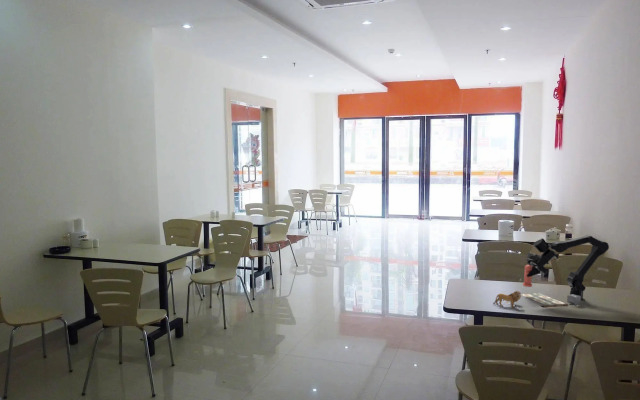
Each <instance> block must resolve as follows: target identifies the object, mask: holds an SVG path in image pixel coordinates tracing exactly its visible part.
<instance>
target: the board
mask: <svg viewBox="0 0 640 400" xmlns="http://www.w3.org/2000/svg"><path fill="white" fill-rule="evenodd" d="M521 296H522V297H523V296H524V297H525V298H528V299H531V300H533V301H535V302H537V303H539V304H542V305H540V307H541V308H547V309H548V308H559V307H562V306H563V307H569V303H565V302H562V301H560V300H557V299H554V298H552V297H549V296H548V295H546V294H545V295H544V294H542V293H540V292H539V293H538V292H537V293H535V292H534V293H533V294H530V293H523V294H522V293H521ZM541 298H542V299H541ZM553 303H554V304H553Z"/></svg>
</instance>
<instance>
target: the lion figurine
mask: <svg viewBox="0 0 640 400" xmlns="http://www.w3.org/2000/svg"><path fill="white" fill-rule="evenodd" d="M521 294H522V292H520V291H518V290H515V291H514V292H511V293H510V294H505V293H498V294H497V295H496V297H495V301H494V302H492V304H493V305H499V306H501V307H503V306H504V305H503V304H502V302H503V301H505V302H507V303H509V302H510V306H511V308H515V306H514V305H515V303H517V302H518V301H519V300H520V299H522V298H521V297H522V295H521ZM498 302H499V303H498Z"/></svg>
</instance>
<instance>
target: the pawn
mask: <svg viewBox="0 0 640 400" xmlns="http://www.w3.org/2000/svg"><path fill="white" fill-rule="evenodd" d="M531 270H532V266H531V265H528V264H526V265H525V266H524V273H523V275H524V277H523V283H522V286H523V287H527V288H531V287H533V284H532V278H533V277H532V276H530V277H527V274H528V273H529V272H530V271H531Z"/></svg>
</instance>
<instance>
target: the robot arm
mask: <svg viewBox="0 0 640 400" xmlns="http://www.w3.org/2000/svg"><path fill="white" fill-rule="evenodd" d="M585 244H590V245H591V251H590V253H589V254H588V255H587V256H586V258H585V259H584V260H583V262H582V263H581V264H580V266H579V267H578V269H577V270H576V271H574V272H573V271H570V273H569V274H568V275H567V278H566V282H567V284H568V285H569V287H570V291H569V295H571V294H574V295H578V296H581V301H585V300H586V298H584V291H585V290H586V286H585V285H584V284H583V282H584V279H585V275H586V274H587V273H588V271H589V270H590V269H591V267H592V266H593V265H594V263H595V262H596V261H597V260H598V258H599V257H600V256H603V255H604V254H605V253H606V252H607V251H608V250H609V249H610V246H609V243H608V242H606V241H604V240H601V239H600V240H599V239H597V238H596V237H593V236H592V235H589V234H587V235H583V236H579V237H576V238H571V239H568V240H555V241H553V242H552V243H551V242H550V243H547V242H546V240H545V239H544V238H540V239H537V240H536V241H534V242H533V245H532V246H533V247H534V248H535V249H536V250H537V251H538V252H539V253H542V254H536V253H532V252H528V254H527V255H526V258H527V259H526V260H525V262H526V263H527V264H526V265H531V266H532V270H531V271H530V272H529V273H528V274H527V277H530V276H533V277H534V276H537V275H539V274H542V275H546V274H547V273H548V270H547V268H546V267H545V266H546V265H549V264H550V263H549V262H551V261H552V259H559V254H558V253H563V252H565V251H567V250H568V249H570V248H572V247H573V248H574V247H577V246H581V245H585Z"/></svg>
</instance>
